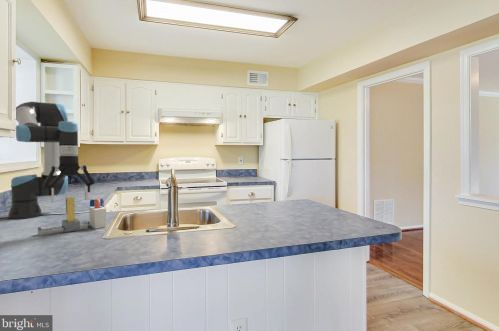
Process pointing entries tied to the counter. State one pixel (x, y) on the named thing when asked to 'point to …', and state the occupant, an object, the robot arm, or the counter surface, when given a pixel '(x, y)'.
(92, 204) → the beverage can
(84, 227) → the rail
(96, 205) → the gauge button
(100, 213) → the end cabinet
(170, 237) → the counter surface
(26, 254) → the counter surface
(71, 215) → the carriage
